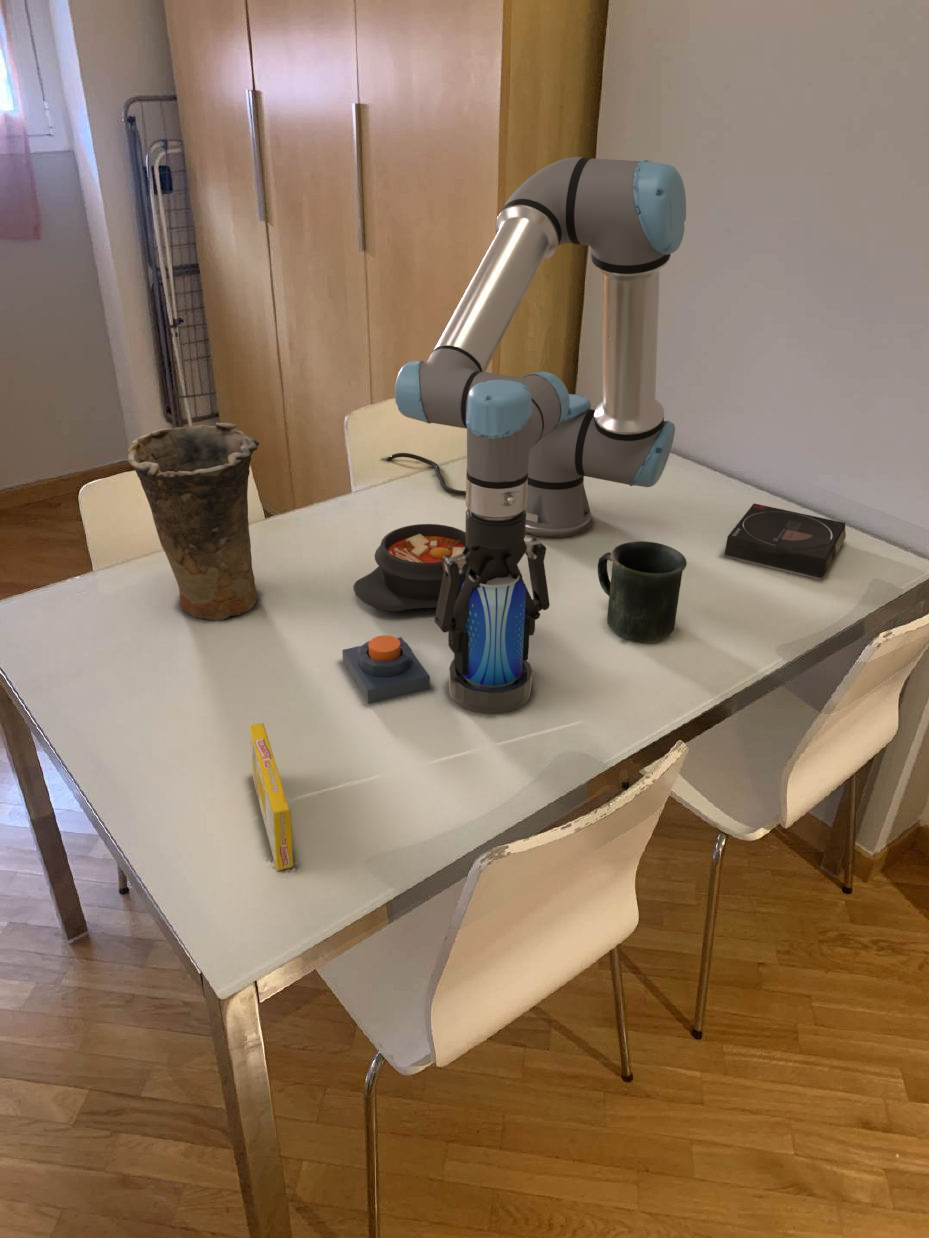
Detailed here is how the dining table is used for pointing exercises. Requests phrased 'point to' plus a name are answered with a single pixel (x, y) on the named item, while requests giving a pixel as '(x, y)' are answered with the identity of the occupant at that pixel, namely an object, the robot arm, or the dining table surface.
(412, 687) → the button base
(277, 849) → the candy box
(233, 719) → the dining table surface
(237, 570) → the vase
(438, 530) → the casserole
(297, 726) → the dining table surface
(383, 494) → the dining table surface
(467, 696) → the dock
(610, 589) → the mug
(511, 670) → the beer can
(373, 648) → the button
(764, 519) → the portable cd player
